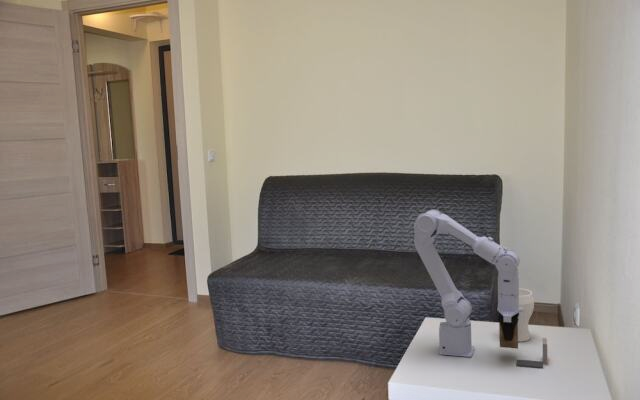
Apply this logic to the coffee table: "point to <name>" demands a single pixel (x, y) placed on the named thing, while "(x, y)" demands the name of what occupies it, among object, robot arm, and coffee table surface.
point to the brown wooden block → (509, 343)
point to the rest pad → (529, 363)
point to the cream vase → (524, 313)
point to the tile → (545, 351)
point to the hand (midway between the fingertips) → (508, 338)
